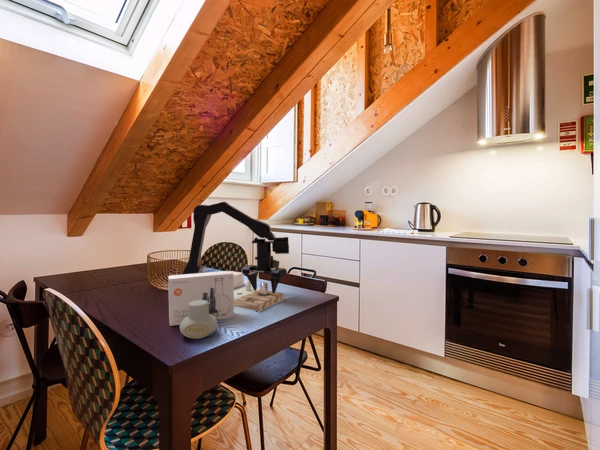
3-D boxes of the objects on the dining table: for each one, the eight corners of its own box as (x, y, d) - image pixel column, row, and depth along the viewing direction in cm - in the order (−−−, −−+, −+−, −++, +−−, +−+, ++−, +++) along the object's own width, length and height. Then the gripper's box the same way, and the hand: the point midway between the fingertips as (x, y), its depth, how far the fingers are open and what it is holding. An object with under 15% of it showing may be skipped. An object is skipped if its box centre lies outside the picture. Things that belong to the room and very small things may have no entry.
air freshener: (177, 342, 93) (176, 308, 92) (183, 330, 101) (182, 299, 100) (216, 339, 94) (215, 305, 94) (219, 328, 102) (218, 297, 102)
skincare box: (169, 327, 104) (167, 278, 103) (169, 321, 109) (167, 275, 108) (235, 317, 112) (233, 272, 111) (231, 312, 117) (230, 269, 116)
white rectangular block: (226, 292, 145) (226, 277, 144) (214, 290, 148) (214, 276, 148) (243, 286, 155) (243, 272, 155) (232, 284, 159) (232, 271, 158)
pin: (265, 301, 130) (265, 284, 129) (259, 300, 131) (258, 283, 131) (270, 299, 133) (269, 283, 132) (263, 298, 134) (263, 282, 134)
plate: (242, 300, 133) (241, 287, 132) (222, 296, 138) (221, 284, 138) (264, 290, 147) (264, 279, 146) (245, 287, 152) (245, 277, 152)
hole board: (257, 311, 118) (257, 305, 118) (232, 307, 124) (231, 300, 123) (283, 299, 133) (283, 293, 133) (260, 295, 139) (260, 289, 139)
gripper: (293, 252, 133) (294, 290, 134) (257, 250, 142) (257, 284, 143) (279, 256, 123) (279, 296, 125) (240, 253, 133) (241, 290, 134)
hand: (264, 291), depth 132 cm, fingers open, 9 cm apart
